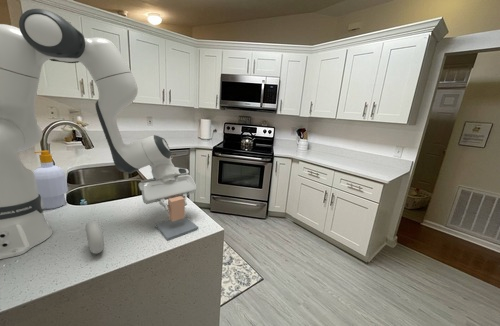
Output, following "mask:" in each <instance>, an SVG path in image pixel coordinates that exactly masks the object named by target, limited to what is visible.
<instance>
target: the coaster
mask: <svg viewBox="0 0 500 326" xmlns="http://www.w3.org/2000/svg"><path fill="white" fill-rule="evenodd" d="M154 226H155V228H156V229H157V230H158V232H160V234H161V235H162V236H163V238H164V239H165V240H166V241H167V242H168V241H171V240H174V239H176V238H179V237H182V236H184V235H187V234H191V233H192V232H196V231H198V230H199V226H197V224H196V223H194V222H193V221H192V220H191V219H190V218H189V217H187V216H186V215H185V218H183V219H179V220H176V221H173V222H172V221H171V220H170V219H169V218H168V219H166V220H163V221H159V222H156V223H154ZM197 229H198V230H197Z"/></svg>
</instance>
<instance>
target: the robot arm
mask: <svg viewBox="0 0 500 326" xmlns="http://www.w3.org/2000/svg"><path fill="white" fill-rule="evenodd" d="M18 26H19V27H16V26H14V25H11V24H10V25H9V24H3V23H0V260H2V259H7V258H12V257H16V256H17V257H18V256H21V255H23V254H25V253H27V252H28V251H29V250H31V249H32V248H33V247H36V246H38V245H40V244H41V243H43V242H44V241H45V242H46V240H48V239H49V238H50V237H51V236H52V234H53V230H52V228H51V226H50V225H49V223H48V221H47V219H46V217H45V215H44V208H43V203H42V198H41V196H40V194H38V190H37V185H36V179H35V174H34V173H33V170H32V169H29V168H27V167H26V166H25V165H24V163H23V162H22V160H21V158H20V155H19V154H20V153H21V152H22V153H23V152H25V151H28V150H31V149H32V148H33V147H35V146H36V145H38V144H39V143H40V142H41V141H42V139H43V131H42V129H41V127H40V126H39V125H38V120H37V113H36V101H37V95H38V89H39V85H40V84H39V83H40V79H41V72H42V68H43V65H44V63H45V62H46V61H51V62H60V63H67V64H77V63H81V64H82V65H83V66H84V67H85V69H87V71H88V73H89V74H90V76H91V78H92V80H93V82H94V83H95V86H96V88H97V91H98V99H97V100H96V101H95V111H96V115H97V118H98V121H99V123H100V126H101V128H102V130H103V131H102V132H103V134H104V137H105V139H106V141H107V144H108V147H109V150H110V154H111V157H112V161H113V163H114V166H115V167H116V169H117V171H120V172H122V173H127V174H132V173H135V172H137V171H139V170H141V169H142V168H145V167H148V166H149V167H150V169H151V174H152V177H151V178H148V179H142V180H141V181H139V183H138V184H137V185H138V189H139V191H141V197H142V202H143V203H144V205H151V204H154V203H159V205H160V206H162V207H163V209H164V211H165V212H169V210H170V209H171V208H170V205H168V204H167V203H166V202H165V201H168V199H171V198H175V197H179V196H182V197H183V198H184V199H185V207H186V206H187V205H188V203H187V197H188V195H191V194H195V192H197V188H198V187H197V184H196V182H195V180H194V178H193V177H192V175H191V174H189V172H190V171H189V169H187V168H183V167H176V166H175V165H174V163H173V162H172V156H171V155H172V152H171V150H170V146H169V144H168V142H167V140H166V139H165V138H163V137H162V136H159V135H156V134H155V135H150V136H147V137H144V138H141V139H140V140H137V141H134V142H131V143H128V144H127V143H126V144H125V143H124V141H123V138H122V135H121V132H120V129H119V127H118V122H117V118H118V116H119V115H120V113H122V112H123V111H124V110H125V109H126V108H127V107H128V106H130V105H131V104H132V103H133V102H134V100H135V99H136V97H137V95H138V85H137V82H136V79H135V77H134V75H133V73H132V71H131V69H130V67H129V65H128V63H127V61H126V60H125V58H124V56H123V54H122V53H121V52H120V50H119V49H118V47H117V46H116V45H115V44H114V43H113V41H111V40H110V39H107V38H104V37H100V36H99V37H90V38H89V37H85V36H84V34H83V33H82V32H81V31H80V30H78V29H77V28H76V27H75V26H74V25H73V24H72V23H71V22H70V21H67V20H66V19H65V18H63V16H61V15H59V14H57V13H55V12H53V11H50V10H47V9H43V8H42V9H41V8H31V9H28V10H26V11H24V12H23V13H22V14H21V15H20V17H19V20H18Z"/></svg>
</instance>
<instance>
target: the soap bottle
mask: <svg viewBox="0 0 500 326" xmlns="http://www.w3.org/2000/svg"><path fill="white" fill-rule="evenodd" d="M33 154H39V161H40V167H37V168H36V169H34V170H32V172H33V173H34V174H35V179H36V185H37V190H38V194H40V196H41V198H42V203H43V209H46V210H49V209H58V208H60V207H63V206H64V205H65V204H66V203H67V202H66V196H65V194H67V193H68V192H69V188H68V183H67V176H66V172H65V170H64V169H63V168H62V167H60V166H57V165H54V161H53V156H52V154H51V153H50V150H48V149H47V150H41V151H40V150H39V151H33ZM62 205H63V206H62Z"/></svg>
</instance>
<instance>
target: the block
mask: <svg viewBox="0 0 500 326" xmlns="http://www.w3.org/2000/svg"><path fill="white" fill-rule="evenodd" d="M167 202H168V204H167V205H170V208H171V209H170V210H169V211H168V219H170V220H171V221H172V222H173V221H176V220H179V219H183V218H185V216H186V211H185V210H186V209H185V207H186V206H185V199H184V198H183V197H182V196H179V197H175V198H171V199H167Z"/></svg>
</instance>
